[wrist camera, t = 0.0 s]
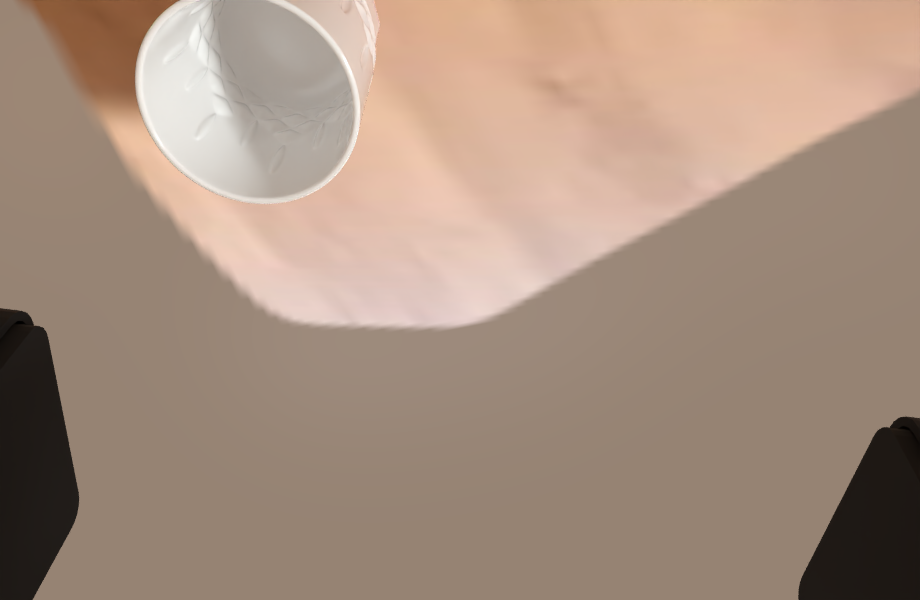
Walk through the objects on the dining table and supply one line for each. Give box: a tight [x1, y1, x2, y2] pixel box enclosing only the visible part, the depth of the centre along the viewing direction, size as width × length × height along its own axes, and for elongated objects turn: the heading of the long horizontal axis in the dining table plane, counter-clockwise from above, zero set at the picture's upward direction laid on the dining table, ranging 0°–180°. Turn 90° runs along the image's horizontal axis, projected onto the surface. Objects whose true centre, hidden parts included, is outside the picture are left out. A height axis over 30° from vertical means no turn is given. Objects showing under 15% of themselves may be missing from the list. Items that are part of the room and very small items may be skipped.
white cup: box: [135, 0, 380, 204], centre depth 34 cm, size 8×8×10 cm
